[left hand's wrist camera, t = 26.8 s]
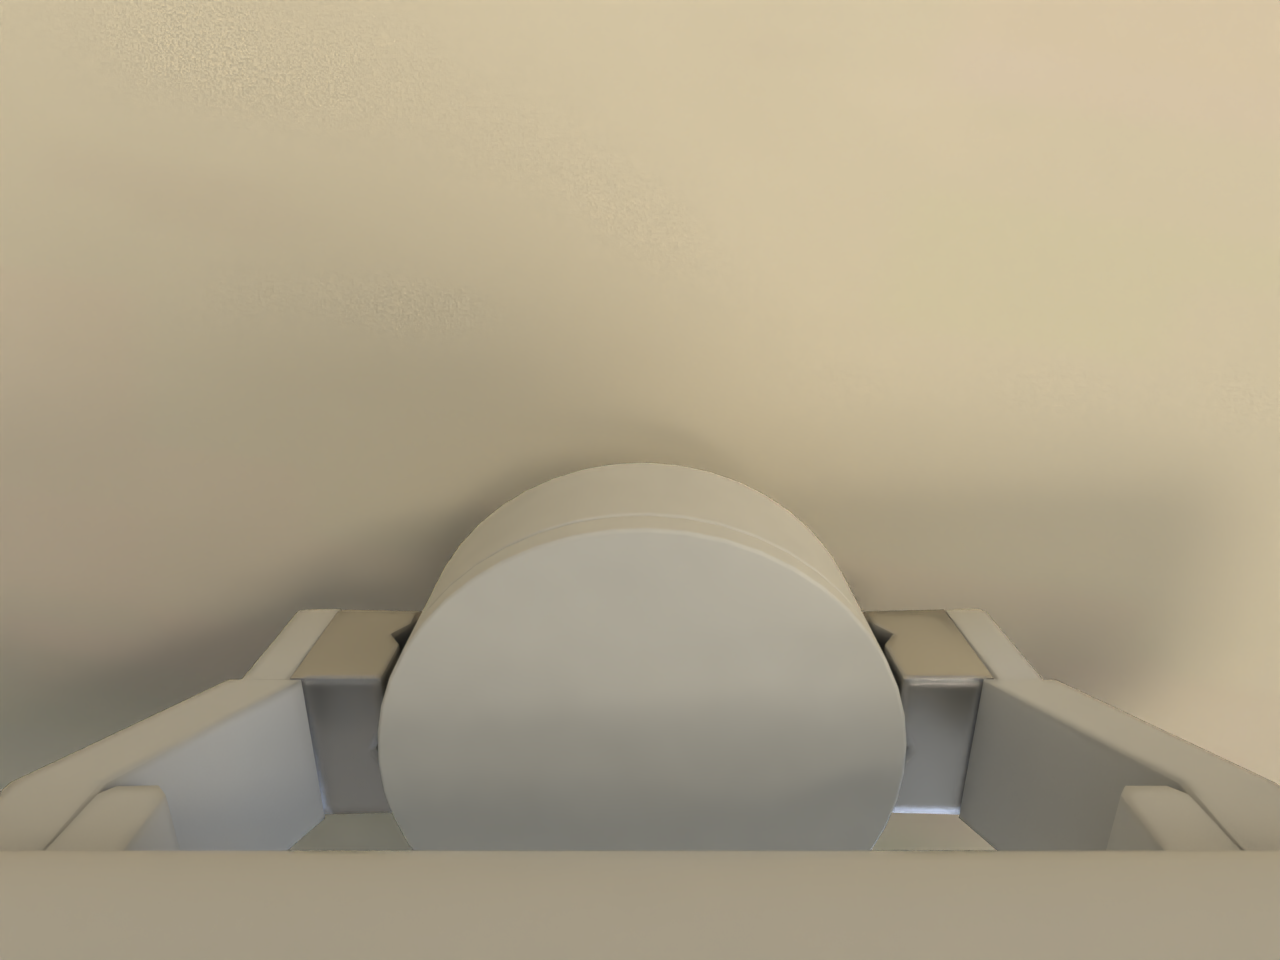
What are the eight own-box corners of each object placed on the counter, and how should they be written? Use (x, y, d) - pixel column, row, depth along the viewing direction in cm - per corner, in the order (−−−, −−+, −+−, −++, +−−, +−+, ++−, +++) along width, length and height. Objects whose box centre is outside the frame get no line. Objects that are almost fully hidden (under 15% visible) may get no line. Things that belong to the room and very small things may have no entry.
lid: (908, 766, 11) (961, 884, 9) (531, 878, 11) (511, 1008, 9) (783, 392, 9) (820, 444, 7) (343, 553, 9) (275, 640, 8)
